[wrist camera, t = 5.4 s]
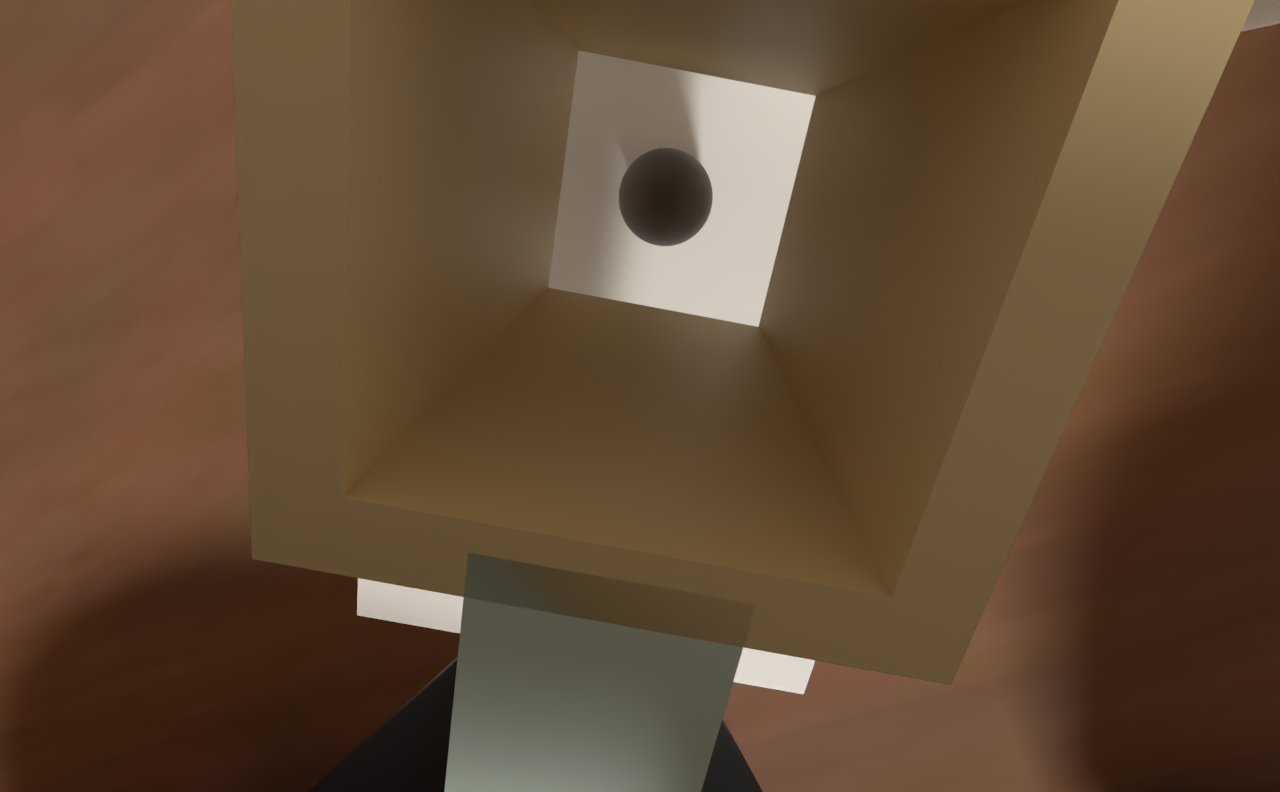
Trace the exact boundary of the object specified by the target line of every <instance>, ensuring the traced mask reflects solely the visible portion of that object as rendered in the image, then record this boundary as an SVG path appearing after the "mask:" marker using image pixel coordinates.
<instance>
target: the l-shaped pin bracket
mask: <svg viewBox="0 0 1280 792" xmlns="http://www.w3.org/2000/svg"><path fill="white" fill-rule="evenodd" d="M1279 23H1280V0H1255V1H1254V3H1253V5H1252V7H1251V10H1250V12H1249V14H1248V16H1247V19H1246V21H1245V23H1244V25H1243V28H1242V30H1241V32H1242V31H1247V30H1251V29H1256V28H1261V27H1265V26H1270V25H1275V24H1279ZM815 97H816V96H814V95H809V94H803V93H798V92H793V91H788V90H782V89H777V88H772V87H767V86H762V85H756V84H751V83H746V82H741V81H736V80H730V79H725V78H720V77H715V76H709V75H704V74H699V73H694V72H689V71H683V70H678V69H673V68H668V67H662V66H657V65H652V64H647V63H642V62H636V61H631V60H626V59H621V58H615V57H610V56H605V55H600V54H595V53H589V52H584V51H578V59H577V67H576V75H575V83H574V90H573V98H572V106H571V114H570V122H569V129H568V137H567V145H566V153H565V160H564V168H563V176H562V184H561V192H560V199H559V207H558V215H557V223H556V230H555V238H554V246H553V254H552V262H551V269H550V277H549V285H548V288H553V289H559V290H564V291H569V292H575V293H580V294H585V295H591V296H596V297H602V298H607V299H612V300H618V301H623V302H628V303H634V304H639V305H644V306H650V307H655V308H660V309H666V310H671V311H677V312H682V313H687V314H693V315H698V316H703V317H709V318H714V319H719V320H725V321H730V322H735V323H741V324H746V325H752V326H757V327H759V323H760V319H761V315H762V311H763V307H764V303H765V298H766V294H767V290H768V286H769V282H770V278H771V274H772V270H773V266H774V262H775V258H776V254H777V250H778V246H779V242H780V238H781V234H782V230H783V226H784V222H785V218H786V214H787V210H788V206H789V202H790V198H791V194H792V190H793V186H794V182H795V178H796V174H797V170H798V166H799V162H800V158H801V154H802V150H803V145H804V141H805V137H806V133H807V129H808V125H809V121H810V117H811V113H812V109H813V105H814V101H815ZM463 599H464V597H460V596H455V595H449V594H444V593H438V592H432V591H427V590H421V589H416V588H410V587H405V586H399V585H394V584H388V583H382V582H377V581H371V580H366V579H360V578H358V593H357V615H358V616H364V617H370V618H375V619H381V620H386V621H392V622H398V623H403V624H409V625H415V626H420V627H426V628H432V629H437V630H443V631H449V632H454V633H460V629H461V619H462V609H463ZM814 663H815V660H810V659H805V658H799V657H793V656H788V655H782V654H777V653H771V652H766V651H760V650H755V649H749V648H744V647H743V650H742V653H741V657H740V660H739V664H738V667H737V670H736V674H735V677H734V681H733V682H737V683H742V684H748V685H754V686H759V687H765V688H771V689H776V690H782V691H788V692H793V693H799V694H804V692H805V689H806V686H807V683H808V680H809V677H810V674H811V671H812V669H813V666H814Z"/></svg>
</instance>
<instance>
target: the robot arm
mask: <svg viewBox="0 0 1280 792" xmlns="http://www.w3.org/2000/svg"><path fill="white" fill-rule="evenodd" d="M457 659H458V657H457V658H456V659H455V660H454V661H452V662H451V663H450V664H449V665H448V666H447V667H446V668H444V669H443V670H442V671H441V672H440V673H439V674H438V675H437V676H435V677H434V678H433V679H432V680H431V681H430V682H429V683H428V684H426V685H425V686H424V687H423V688H422V689H421V690H420V691H419V692H417V693H416V694H415V695H414V696H413V697H412V698H411V699H410V700H408V701H407V702H406V703H405V704H404V705H403V706H402V707H401V708H399V709H398V710H397V711H396V712H395V713H394V714H393V715H392V716H390V717H389V718H388V719H387V720H386V721H385V722H384V723H382V724H381V725H380V726H379V727H378V728H377V729H376V730H375V731H373V732H372V733H371V734H370V735H369V736H368V737H367V738H366V739H364V740H363V741H362V742H361V743H360V744H359V745H358V746H357V747H355V748H354V749H353V750H352V751H351V752H350V753H349V754H348V755H346V756H345V757H344V758H343V759H342V760H341V761H340V762H338V763H337V764H336V765H335V766H334V767H333V768H332V769H331V770H329V771H328V772H327V773H326V774H325V775H324V776H323V777H322V778H320V779H319V780H318V781H317V782H316V783H315V784H314V785H313V786H311V787H310V788H309V789H308V790H307V791H306V792H444V790H445V780H446V770H447V760H448V750H449V740H450V730H451V720H452V710H453V700H454V689H455V679H456V669H457ZM701 792H763V791H762V790H761V788H760V786H759V784H758V782H757V780H756V779H755V777H754V775H753V773H752V771H751V770H750V768H749V766H748V764H747V762H746V760H745V759H744V757H743V755H742V753H741V751H740V750H739V748H738V746H737V744H736V742H735V740H734V739H733V737H732V735H731V733H730V731H729V729H728V728H727V726H726V724H725V722H724V720H723V719H722V722H721V725H720V729H719V732H718V736H717V739H716V742H715V746H714V749H713V753H712V756H711V759H710V763H709V766H708V770H707V773H706V777H705V780H704V783H703V787H702V790H701Z"/></svg>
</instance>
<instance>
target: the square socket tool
mask: <svg viewBox="0 0 1280 792" xmlns="http://www.w3.org/2000/svg"><path fill="white" fill-rule="evenodd" d="M1254 1H1255V0H230V3H231V29H232V55H233V81H234V107H235V133H236V159H237V185H238V211H239V237H240V263H241V289H242V315H243V341H244V367H245V393H246V419H247V445H248V471H249V497H250V522H251V548H252V559H255V560H260V561H266V562H271V563H277V564H283V565H288V566H294V567H299V568H305V569H310V570H316V571H321V572H327V573H333V574H338V575H344V576H349V577H355V578H360V579H366V580H371V581H377V582H382V583H388V584H394V585H399V586H405V587H410V588H416V589H421V590H427V591H432V592H438V593H444V594H449V595H455V596H460V597H464V599H463V609H462V619H461V629H460V639H459V649H458V659H457V669H456V679H455V689H454V700H453V710H452V720H451V730H450V740H449V750H448V760H447V770H446V780H445V790H444V792H701V790H702V787H703V783H704V780H705V777H706V773H707V770H708V766H709V763H710V759H711V756H712V753H713V749H714V746H715V742H716V739H717V736H718V732H719V729H720V725H721V722H722V718H723V715H724V712H725V708H726V705H727V701H728V698H729V694H730V691H731V688H732V684H733V681H734V677H735V674H736V670H737V667H738V664H739V660H740V657H741V653H742V650H743V647H744V648H749V649H755V650H760V651H766V652H771V653H777V654H782V655H788V656H793V657H799V658H805V659H810V660H816V661H821V662H827V663H832V664H838V665H843V666H849V667H855V668H860V669H866V670H871V671H877V672H882V673H888V674H893V675H899V676H905V677H910V678H916V679H921V680H927V681H932V682H938V683H943V684H949V685H951V683H952V681H953V679H954V676H955V674H956V672H957V670H958V667H959V665H960V663H961V661H962V658H963V656H964V654H965V652H966V649H967V647H968V645H969V643H970V640H971V638H972V636H973V634H974V631H975V629H976V627H977V625H978V622H979V620H980V618H981V616H982V613H983V611H984V609H985V607H986V604H987V602H988V600H989V598H990V595H991V593H992V591H993V589H994V586H995V584H996V582H997V580H998V577H999V575H1000V573H1001V571H1002V568H1003V566H1004V564H1005V562H1006V559H1007V557H1008V555H1009V553H1010V550H1011V548H1012V546H1013V544H1014V541H1015V539H1016V537H1017V535H1018V532H1019V530H1020V528H1021V526H1022V523H1023V521H1024V519H1025V517H1026V514H1027V512H1028V510H1029V508H1030V505H1031V503H1032V501H1033V499H1034V496H1035V494H1036V492H1037V490H1038V487H1039V485H1040V483H1041V480H1042V478H1043V476H1044V474H1045V471H1046V469H1047V467H1048V465H1049V462H1050V460H1051V458H1052V456H1053V453H1054V451H1055V449H1056V447H1057V444H1058V442H1059V440H1060V438H1061V435H1062V433H1063V431H1064V429H1065V426H1066V424H1067V422H1068V420H1069V417H1070V415H1071V413H1072V411H1073V408H1074V406H1075V404H1076V402H1077V399H1078V397H1079V395H1080V393H1081V390H1082V388H1083V386H1084V384H1085V381H1086V379H1087V377H1088V375H1089V372H1090V370H1091V368H1092V366H1093V363H1094V361H1095V359H1096V357H1097V354H1098V352H1099V350H1100V348H1101V345H1102V343H1103V341H1104V339H1105V336H1106V334H1107V332H1108V330H1109V327H1110V325H1111V323H1112V321H1113V318H1114V316H1115V314H1116V312H1117V309H1118V307H1119V305H1120V303H1121V300H1122V298H1123V296H1124V293H1125V291H1126V289H1127V287H1128V284H1129V282H1130V280H1131V278H1132V275H1133V273H1134V271H1135V269H1136V266H1137V264H1138V262H1139V260H1140V257H1141V255H1142V253H1143V251H1144V248H1145V246H1146V244H1147V242H1148V239H1149V237H1150V235H1151V233H1152V230H1153V228H1154V226H1155V224H1156V221H1157V219H1158V217H1159V215H1160V212H1161V210H1162V208H1163V206H1164V203H1165V201H1166V199H1167V197H1168V194H1169V192H1170V190H1171V188H1172V185H1173V183H1174V181H1175V179H1176V176H1177V174H1178V172H1179V170H1180V167H1181V165H1182V163H1183V161H1184V158H1185V156H1186V154H1187V152H1188V149H1189V147H1190V145H1191V143H1192V140H1193V138H1194V136H1195V134H1196V131H1197V129H1198V127H1199V125H1200V122H1201V120H1202V118H1203V116H1204V113H1205V111H1206V109H1207V106H1208V104H1209V102H1210V100H1211V97H1212V95H1213V93H1214V91H1215V88H1216V86H1217V84H1218V82H1219V79H1220V77H1221V75H1222V73H1223V70H1224V68H1225V66H1226V64H1227V61H1228V59H1229V57H1230V55H1231V52H1232V50H1233V48H1234V46H1235V43H1236V41H1237V39H1238V37H1239V34H1240V32H1241V30H1242V28H1243V25H1244V23H1245V21H1246V19H1247V16H1248V14H1249V12H1250V10H1251V7H1252V5H1253V3H1254ZM578 51H584V52H589V53H595V54H600V55H605V56H610V57H615V58H621V59H626V60H631V61H636V62H642V63H647V64H652V65H657V66H662V67H668V68H673V69H678V70H683V71H689V72H694V73H699V74H704V75H709V76H715V77H720V78H725V79H730V80H736V81H741V82H746V83H751V84H756V85H762V86H767V87H772V88H777V89H782V90H788V91H793V92H798V93H803V94H809V95H814V96H816V97H815V101H814V105H813V109H812V113H811V117H810V121H809V125H808V129H807V133H806V137H805V141H804V145H803V150H802V154H801V158H800V162H799V166H798V170H797V174H796V178H795V182H794V186H793V190H792V194H791V198H790V202H789V206H788V210H787V214H786V218H785V222H784V226H783V230H782V234H781V238H780V242H779V246H778V250H777V254H776V258H775V262H774V266H773V270H772V274H771V278H770V282H769V286H768V290H767V294H766V298H765V303H764V307H763V311H762V315H761V319H760V323H759V327H757V326H752V325H746V324H741V323H735V322H730V321H725V320H719V319H714V318H709V317H703V316H698V315H693V314H687V313H682V312H677V311H671V310H666V309H660V308H655V307H650V306H644V305H639V304H634V303H628V302H623V301H618V300H612V299H607V298H602V297H596V296H591V295H585V294H580V293H575V292H569V291H564V290H559V289H553V288H548V285H549V277H550V269H551V262H552V254H553V246H554V238H555V230H556V223H557V215H558V207H559V199H560V192H561V184H562V176H563V168H564V160H565V153H566V145H567V137H568V129H569V122H570V114H571V106H572V98H573V90H574V83H575V75H576V67H577V59H578Z"/></svg>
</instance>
